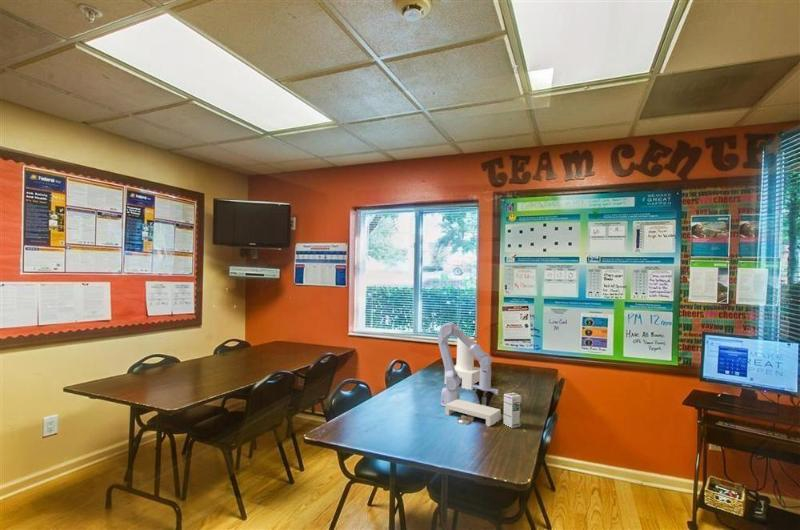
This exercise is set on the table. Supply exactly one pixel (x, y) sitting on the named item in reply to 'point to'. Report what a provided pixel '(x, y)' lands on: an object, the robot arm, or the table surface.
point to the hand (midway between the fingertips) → (484, 405)
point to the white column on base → (466, 365)
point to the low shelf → (474, 410)
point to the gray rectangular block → (483, 402)
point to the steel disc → (463, 420)
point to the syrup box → (512, 410)
